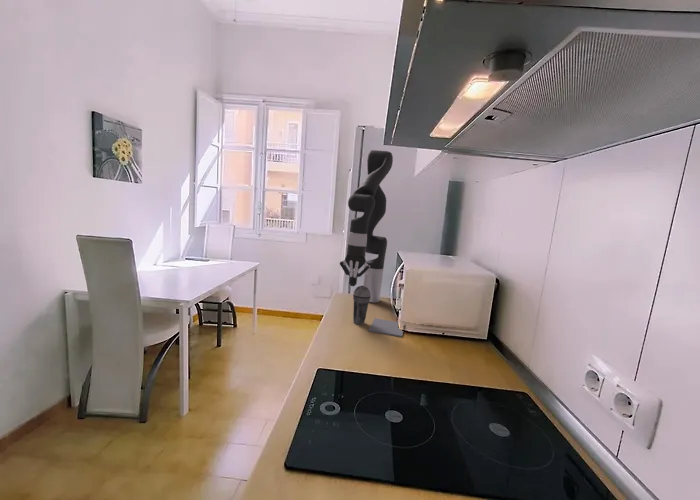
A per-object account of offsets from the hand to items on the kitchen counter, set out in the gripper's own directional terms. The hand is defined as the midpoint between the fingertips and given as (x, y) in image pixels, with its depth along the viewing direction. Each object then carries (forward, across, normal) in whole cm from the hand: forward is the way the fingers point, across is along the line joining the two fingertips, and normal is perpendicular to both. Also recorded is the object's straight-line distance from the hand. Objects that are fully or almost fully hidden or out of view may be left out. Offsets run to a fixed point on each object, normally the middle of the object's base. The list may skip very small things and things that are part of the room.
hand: (352, 285), depth 150 cm
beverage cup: (+15, -4, 0) cm, 16 cm away
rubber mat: (+15, -16, 0) cm, 22 cm away
